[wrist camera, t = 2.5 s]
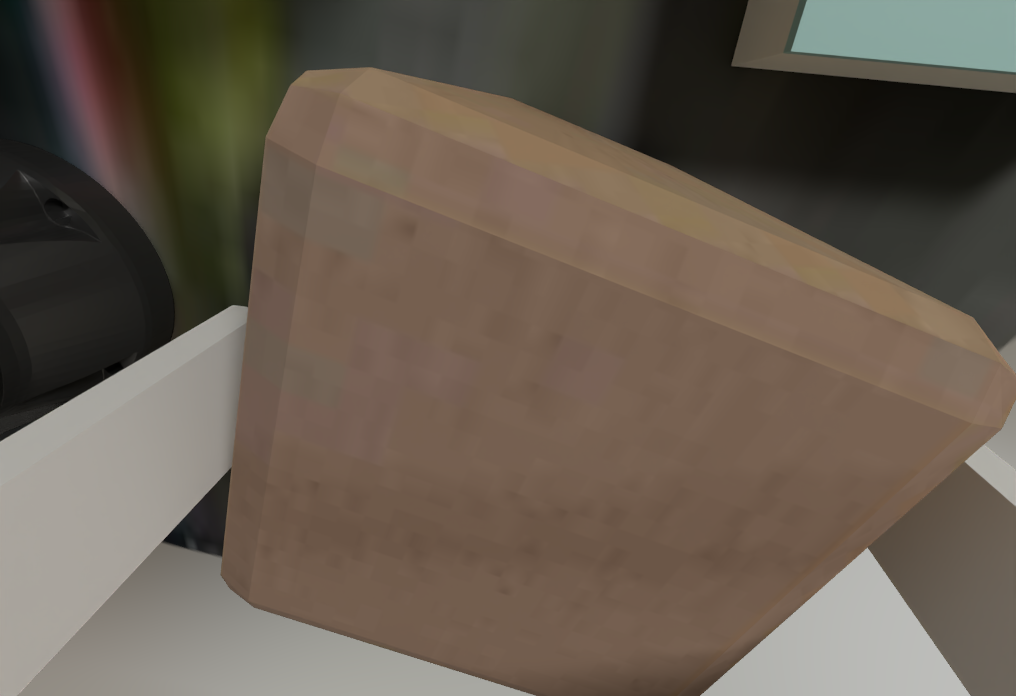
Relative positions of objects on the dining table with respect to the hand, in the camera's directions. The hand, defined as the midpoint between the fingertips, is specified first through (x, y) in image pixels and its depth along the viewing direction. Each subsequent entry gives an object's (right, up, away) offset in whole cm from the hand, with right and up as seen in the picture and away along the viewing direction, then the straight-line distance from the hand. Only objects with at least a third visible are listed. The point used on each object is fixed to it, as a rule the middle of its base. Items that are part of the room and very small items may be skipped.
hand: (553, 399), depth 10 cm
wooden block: (+1, +8, +14) cm, 16 cm away
